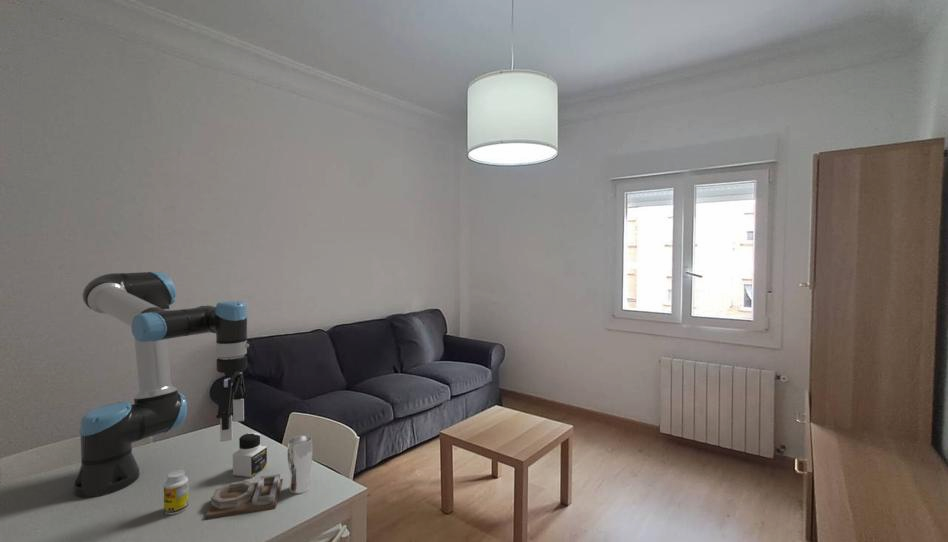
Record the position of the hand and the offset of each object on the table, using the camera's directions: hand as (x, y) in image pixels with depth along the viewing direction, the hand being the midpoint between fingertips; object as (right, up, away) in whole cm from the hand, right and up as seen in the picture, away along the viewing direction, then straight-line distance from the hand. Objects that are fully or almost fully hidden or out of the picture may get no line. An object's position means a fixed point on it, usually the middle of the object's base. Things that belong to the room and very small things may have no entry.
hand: (232, 430), depth 119 cm
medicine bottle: (-4, -20, +17) cm, 27 cm away
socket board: (+3, -21, +2) cm, 21 cm away
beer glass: (+16, -21, +8) cm, 27 cm away
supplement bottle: (-14, -21, -3) cm, 25 cm away
